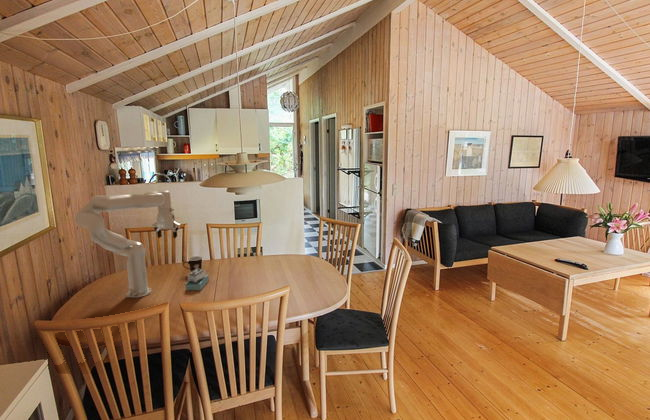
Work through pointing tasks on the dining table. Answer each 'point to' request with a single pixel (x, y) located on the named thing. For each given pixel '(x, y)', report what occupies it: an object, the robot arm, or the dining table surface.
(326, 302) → the dining table surface
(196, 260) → the coffee mug
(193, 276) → the housing
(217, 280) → the dining table surface
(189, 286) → the stand
